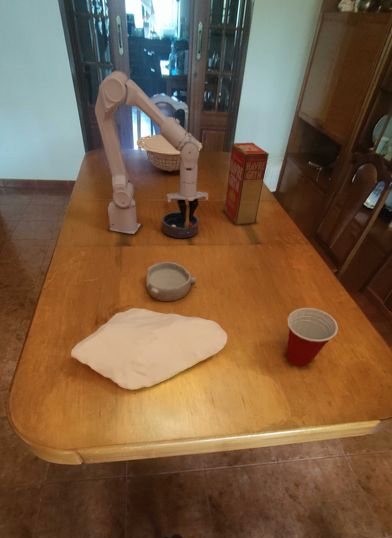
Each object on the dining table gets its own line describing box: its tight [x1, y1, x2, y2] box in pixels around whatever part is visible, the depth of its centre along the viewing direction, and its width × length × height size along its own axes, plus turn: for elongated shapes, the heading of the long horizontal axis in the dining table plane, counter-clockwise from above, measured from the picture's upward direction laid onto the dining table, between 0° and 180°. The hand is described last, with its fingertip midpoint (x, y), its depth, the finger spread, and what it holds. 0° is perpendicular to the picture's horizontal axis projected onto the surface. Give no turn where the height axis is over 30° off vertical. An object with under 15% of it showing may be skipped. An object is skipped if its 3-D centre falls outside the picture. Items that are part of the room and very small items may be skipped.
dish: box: [145, 261, 197, 302], centre depth 93 cm, size 14×14×5 cm
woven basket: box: [136, 134, 203, 173], centre depth 157 cm, size 32×32×13 cm
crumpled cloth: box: [70, 307, 229, 391], centre depth 73 cm, size 24×35×9 cm
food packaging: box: [223, 142, 270, 226], centre depth 122 cm, size 13×9×25 cm
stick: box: [184, 204, 190, 228], centre depth 115 cm, size 2×2×8 cm
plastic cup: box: [285, 307, 339, 368], centre depth 74 cm, size 11×11×12 cm
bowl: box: [161, 211, 200, 239], centre depth 118 cm, size 13×13×4 cm
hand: (186, 220), depth 116 cm, fingers closed on stick, 2 cm apart
